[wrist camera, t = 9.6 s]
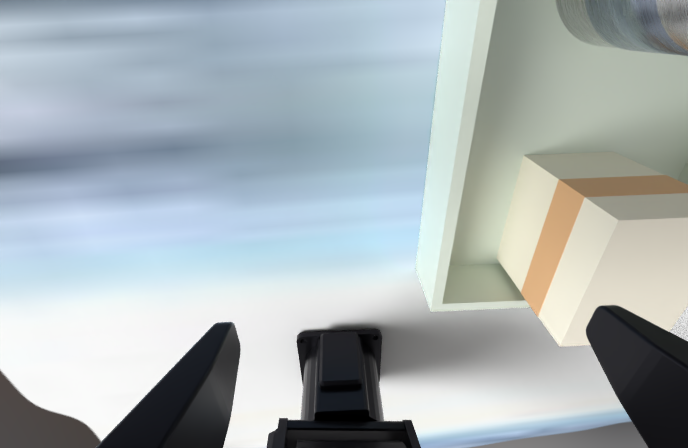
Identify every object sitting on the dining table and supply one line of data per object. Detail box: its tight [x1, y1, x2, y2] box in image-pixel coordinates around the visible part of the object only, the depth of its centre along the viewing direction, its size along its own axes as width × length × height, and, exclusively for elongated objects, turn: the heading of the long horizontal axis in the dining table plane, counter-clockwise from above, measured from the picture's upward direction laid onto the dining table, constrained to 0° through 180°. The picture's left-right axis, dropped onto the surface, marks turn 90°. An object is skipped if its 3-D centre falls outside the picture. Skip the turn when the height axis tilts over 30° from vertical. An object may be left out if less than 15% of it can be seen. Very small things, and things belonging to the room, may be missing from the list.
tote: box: [415, 0, 688, 312], centre depth 16 cm, size 21×15×4 cm
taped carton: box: [496, 152, 688, 347], centre depth 17 cm, size 7×5×7 cm
